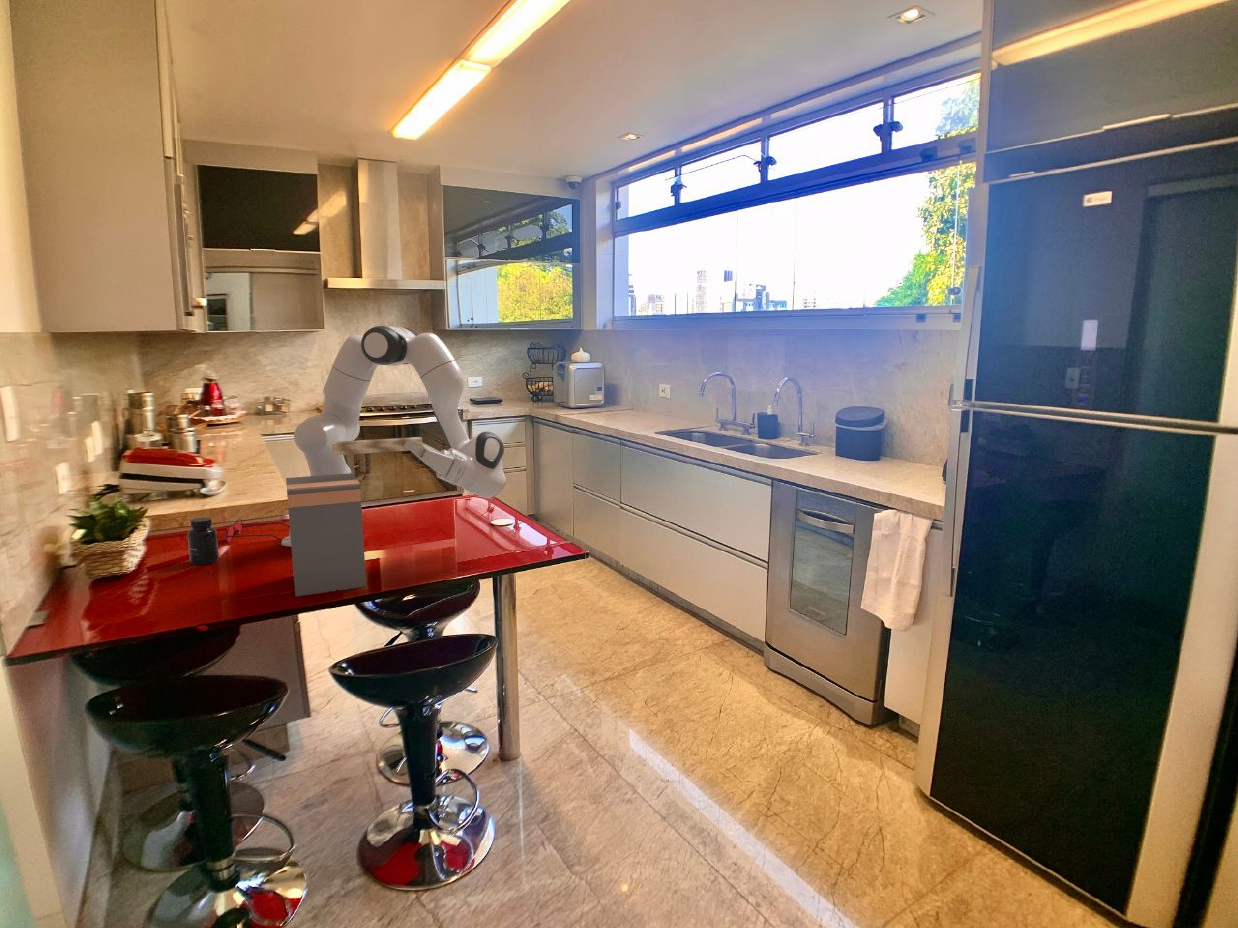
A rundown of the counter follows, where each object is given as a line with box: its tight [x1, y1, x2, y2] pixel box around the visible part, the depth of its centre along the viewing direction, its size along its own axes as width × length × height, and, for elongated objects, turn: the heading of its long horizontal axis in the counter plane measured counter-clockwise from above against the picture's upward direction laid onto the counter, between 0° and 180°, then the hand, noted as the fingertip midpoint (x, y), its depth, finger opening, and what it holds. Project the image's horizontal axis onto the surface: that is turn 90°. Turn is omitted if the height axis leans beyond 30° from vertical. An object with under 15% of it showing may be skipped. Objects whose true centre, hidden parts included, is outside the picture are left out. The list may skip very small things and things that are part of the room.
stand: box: [285, 472, 367, 597], centre depth 170 cm, size 16×16×26 cm
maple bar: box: [332, 436, 424, 456], centre depth 176 cm, size 22×3×3 cm, turn 117°
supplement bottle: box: [187, 516, 220, 566], centre depth 185 cm, size 7×7×12 cm
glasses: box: [222, 518, 290, 544], centre depth 210 cm, size 14×16×5 cm
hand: (403, 442), depth 178 cm, fingers closed on maple bar, 3 cm apart
